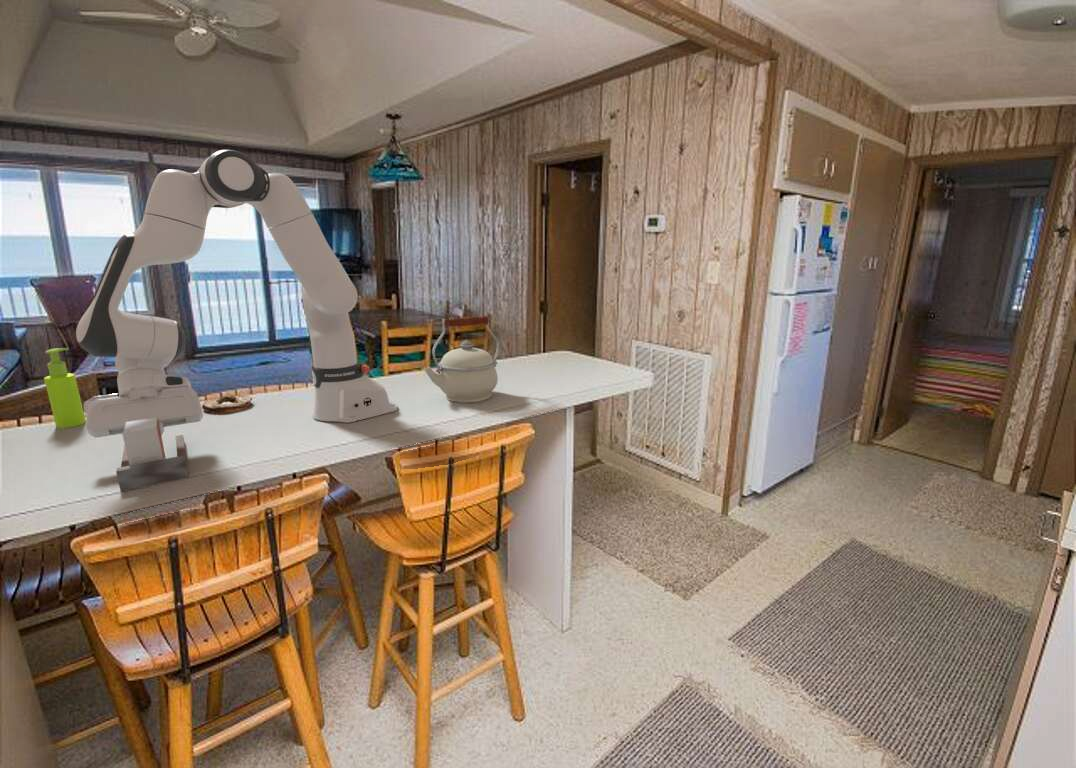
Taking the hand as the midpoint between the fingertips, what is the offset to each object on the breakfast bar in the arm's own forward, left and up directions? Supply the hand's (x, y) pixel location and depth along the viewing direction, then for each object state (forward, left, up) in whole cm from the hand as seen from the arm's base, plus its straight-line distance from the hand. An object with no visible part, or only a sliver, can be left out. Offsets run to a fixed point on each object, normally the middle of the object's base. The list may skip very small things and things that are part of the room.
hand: (151, 445), depth 110 cm
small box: (+1, +5, -5) cm, 7 cm away
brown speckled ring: (-17, -37, -5) cm, 41 cm away
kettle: (-78, -7, -5) cm, 79 cm away
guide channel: (0, 0, -4) cm, 4 cm away
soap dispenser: (+18, -44, -5) cm, 48 cm away
